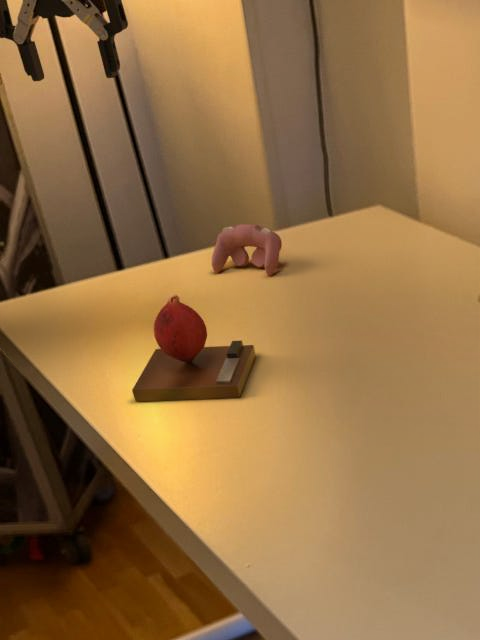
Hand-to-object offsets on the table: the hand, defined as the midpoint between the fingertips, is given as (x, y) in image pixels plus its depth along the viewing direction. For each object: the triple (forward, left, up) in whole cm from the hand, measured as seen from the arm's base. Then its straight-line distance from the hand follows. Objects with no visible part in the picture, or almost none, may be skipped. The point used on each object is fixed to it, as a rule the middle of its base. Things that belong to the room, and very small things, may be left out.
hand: (75, 78), depth 113 cm
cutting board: (+12, -20, -28) cm, 37 cm away
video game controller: (+12, +16, -28) cm, 35 cm away
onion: (+11, -19, -27) cm, 35 cm away
